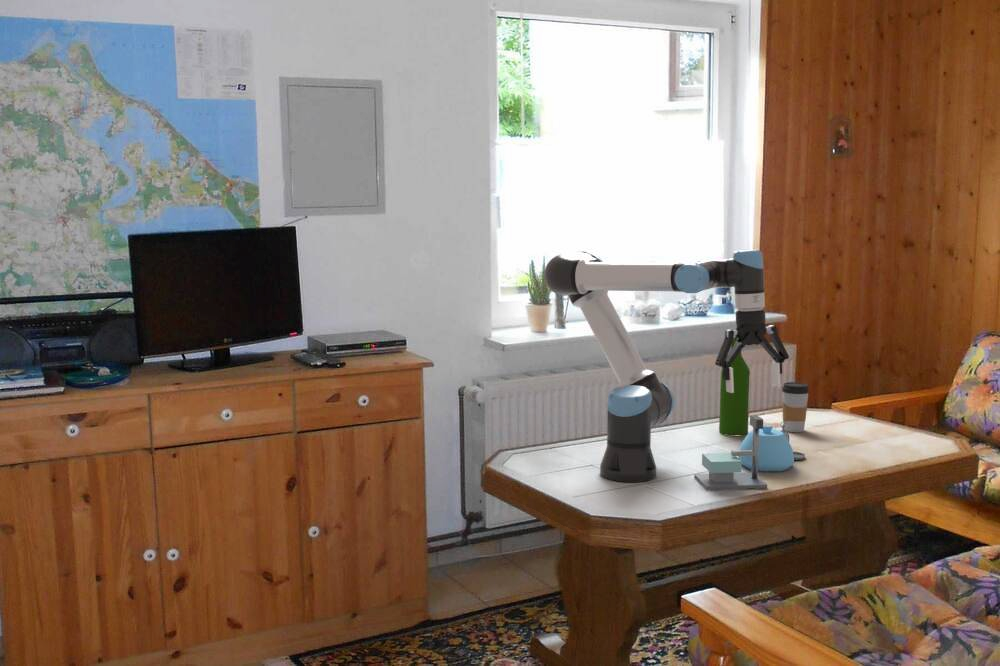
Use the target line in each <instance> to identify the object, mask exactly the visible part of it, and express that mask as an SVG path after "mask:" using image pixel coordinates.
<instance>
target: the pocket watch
mask: <svg viewBox="0 0 1000 666" xmlns="http://www.w3.org/2000/svg"><path fill="white" fill-rule="evenodd" d="M784 424H785V422H784ZM780 427H781V428H782V429H781V430H780V431H781V432H783V433H784V435H785V436H786V438H787V440H788V441H789V442H790V434H789V432H787V431H786V430H784V428H785V425H783V421H781V422H780ZM793 455H794V461H800V460H803V459H805V458H806V454H805V453H803V452H799V451H793Z"/></svg>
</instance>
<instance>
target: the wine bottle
mask: <svg viewBox="0 0 1000 666" xmlns="http://www.w3.org/2000/svg"><path fill="white" fill-rule="evenodd" d="M737 339H738V337H737V335H735V338H734V339H733V342H732V345H731V347H730V350H731V349H732V348H733V346H734V345H735V342H736V340H737ZM730 368H733V382H734V393H729V392H726V380H724V379H723V369H722V368H721V370H720V385H719V387H720V391H719V393H720V394H719V418H718V419H719V424H718V426H719V427H718V432H719V433H720V434H721V433H722V434H721V435H723V434H727V435H726V436H728V435H744V436H747V435H748V433H749V420H750V392H751V389H750V387H751V371H750V368H749V366H748V365H747V363H746V361H745V359H744V358H743V355H742V350H741V351H740V353H739V354H738V356H737V357H736V359H735V360H734V362H733V363H732V365H731V366H730ZM746 434H747V435H746Z"/></svg>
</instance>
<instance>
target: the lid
mask: <svg viewBox="0 0 1000 666" xmlns="http://www.w3.org/2000/svg"><path fill="white" fill-rule="evenodd" d="M701 455H702V456H701V465H702V466H703V467H704V468H705V469H706V470H707V471H708V473H709V472H710V473H742V466H743V465H742V461H741V460H740V459H739V458H738V456H732V455H731V452H717V453H716V452H714V453H713V452H710V453H708V452H707V453H706V452H705V453H701Z"/></svg>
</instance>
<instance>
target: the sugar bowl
mask: <svg viewBox="0 0 1000 666" xmlns="http://www.w3.org/2000/svg"><path fill="white" fill-rule="evenodd" d="M773 428H774V427H773V425H771V424H763V429H759V453H758V470H759V471H758V472H762V471H780V472H783V471H782V470H785V471H787V470H788V469H790V468H791V467H792V466H793V464H794V463H795V460H794V455H793V452H794V450H793V447H792V446H791V442H790V440H789V441H788V440H787V438H786V436H785V435H784V433H783V432H781V430H777V429H773ZM752 445H753V429H751V430H749V431H748V433H747V435H745V437H744V439H743V441H742V442H741V444H740V447H739V449H738V450H752ZM737 458H739V459H740V460H741V461H742V465H741V466H743V467H744V466H745V467H744V468H746V467H747V468H746V469H748V468H749V470H751V469H752V456H737ZM786 469H787V470H786Z"/></svg>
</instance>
